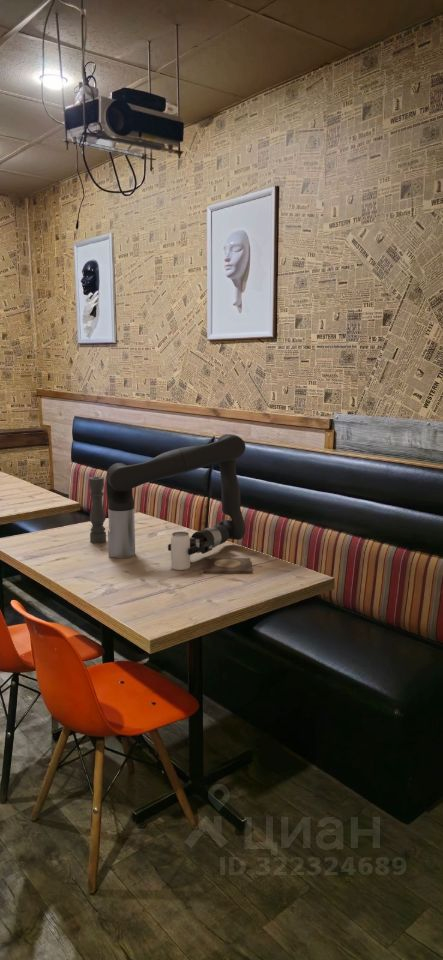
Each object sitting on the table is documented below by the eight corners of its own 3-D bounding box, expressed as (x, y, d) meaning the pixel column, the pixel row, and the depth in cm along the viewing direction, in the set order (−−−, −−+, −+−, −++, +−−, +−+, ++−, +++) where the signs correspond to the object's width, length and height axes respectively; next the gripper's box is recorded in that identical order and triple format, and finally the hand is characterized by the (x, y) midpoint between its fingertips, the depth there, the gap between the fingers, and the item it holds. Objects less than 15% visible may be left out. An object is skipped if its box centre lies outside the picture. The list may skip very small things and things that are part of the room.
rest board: (203, 573, 222) (203, 569, 222) (204, 560, 236) (204, 556, 236) (251, 573, 222) (251, 569, 222) (249, 560, 236) (250, 556, 236)
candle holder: (104, 543, 258) (102, 479, 253) (88, 543, 258) (86, 479, 253) (107, 539, 264) (105, 476, 259) (91, 539, 264) (89, 476, 259)
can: (191, 565, 231) (191, 531, 229) (188, 571, 225) (188, 536, 223) (172, 564, 232) (172, 531, 230) (169, 570, 225) (169, 535, 223)
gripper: (190, 526, 243) (162, 536, 230) (223, 532, 235) (195, 542, 222) (190, 546, 244) (162, 557, 231) (222, 552, 236) (195, 564, 223)
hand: (178, 549), depth 226 cm, fingers open, 8 cm apart
